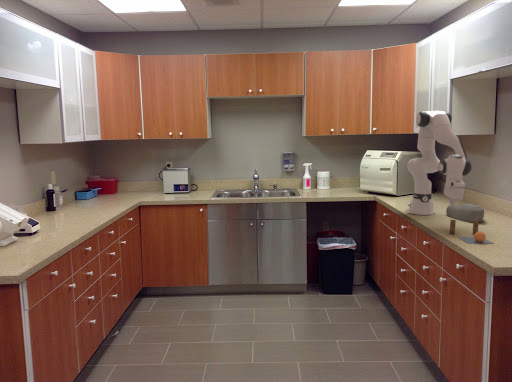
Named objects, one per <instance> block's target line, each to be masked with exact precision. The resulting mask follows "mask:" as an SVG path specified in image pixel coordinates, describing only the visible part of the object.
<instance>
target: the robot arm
mask: <svg viewBox="0 0 512 382" xmlns="http://www.w3.org/2000/svg"><path fill="white" fill-rule="evenodd" d="M452 119H453V117H452V114H451V113H450V112H449V111H445V110H443V111H442V110H428V111H427V110H423V111H419V112H418V113H417V114H416V125H417V126H418V127H419V131H418V135H417V137H418V138H417V143H416V144H417V146H416V147H417V150H418V151H420V153H421V157H414V158H410V159H409V160H408V161H407V163H406V167H407V170H408V173H410V174H411V175H412V179H413V182H414V185H413V186H414V187H413V188H414V190H413V194H412V199H411V200H410V201H409V202H408V203H407V206H408V208H405V211H406V212H407V214H413V215H419V216H420V215H421V216H430V215H434V214H436V211H434V201H433V200H432V198H433V195H432V187H433V186H432V181H431V180H430V179H428V175H427V174H434V173H436V172H439V173H440V174H442V175H445V176H446V177H445V184H444V188H443V195H444V196H446V197H448V199H449V205H452V206H454V205H456V201H463V199H464V195H465V188H466V183H465V182H464V180H463V178H464V177H465V176H467V175H468V174H470V173H471V171H472V168H473V167H472V163H471V161H470V160H469V158H468V156H467V153H466V150H465V148H464V146H463V143H462V140H461V139H460V137H459V136H457V135H456V133H455V132H454V131H453V128H452V124H451V123H452V121H453V120H452ZM436 142H438V144H441V145H445V146H447V147H450V148H451V149H452V150H453V151H454V152H455V154H454V153H453V154H450V155H448V157H447V158H445V159H442V160H441V159H439V158H438V156H437V154H436V147H435V146H436Z"/></svg>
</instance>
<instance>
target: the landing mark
mask: <svg viewBox="0 0 512 382" xmlns="http://www.w3.org/2000/svg"><path fill="white" fill-rule="evenodd" d="M457 238H458V239H459V238H460V240H461V241H463V242H464V243H467V244H477V245H479V244H482V245H484V244H487V245H488V244H489V245H490V244H491V245H492V244H494V242H492V241H490V240H488V239H487V238H486V239H485V240H484V241H483V242H477V241H476V240H475V239H474V236H457Z"/></svg>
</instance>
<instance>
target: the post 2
mask: <svg viewBox="0 0 512 382" xmlns="http://www.w3.org/2000/svg"><path fill="white" fill-rule="evenodd" d="M472 223H473V224H472V235H473V236H474V234H475V233H476V232H479V224H480V222H479V220H474V221H473V222H472Z"/></svg>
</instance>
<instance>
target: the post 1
mask: <svg viewBox="0 0 512 382" xmlns="http://www.w3.org/2000/svg"><path fill="white" fill-rule="evenodd" d="M456 221H457V219H450V222H449V223H450V224H449V235H452V236H453V235H454V234H456ZM454 236H455V235H454Z"/></svg>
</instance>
